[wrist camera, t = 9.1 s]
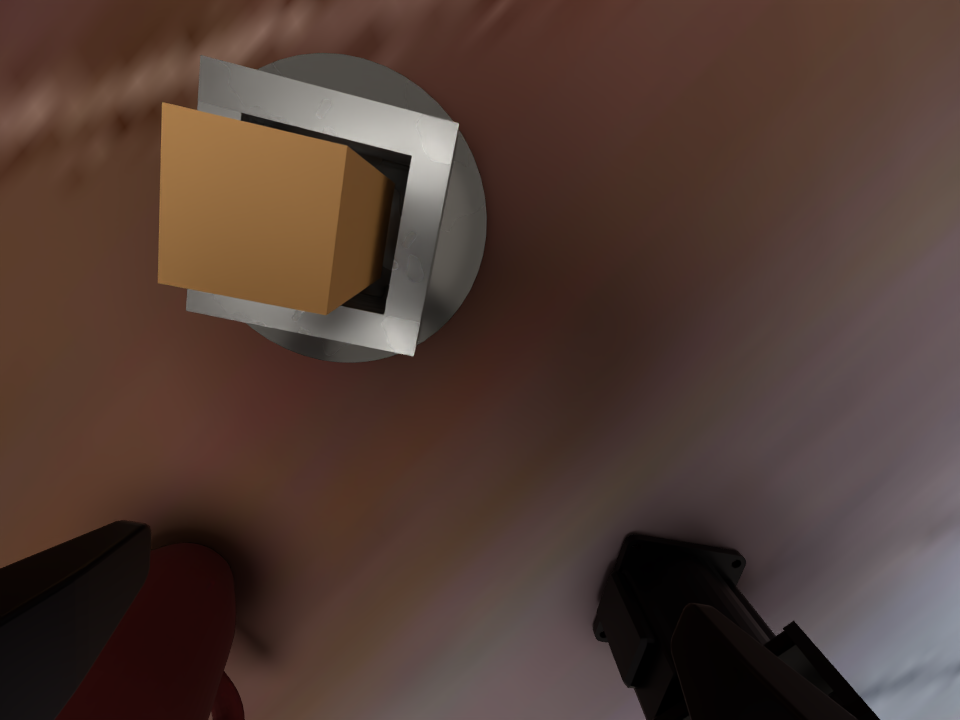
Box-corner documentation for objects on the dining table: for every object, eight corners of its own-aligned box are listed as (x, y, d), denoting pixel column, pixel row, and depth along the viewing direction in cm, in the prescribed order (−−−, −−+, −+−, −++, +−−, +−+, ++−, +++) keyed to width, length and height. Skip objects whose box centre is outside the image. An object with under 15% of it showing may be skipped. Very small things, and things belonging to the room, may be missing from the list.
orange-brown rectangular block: (395, 183, 17) (347, 145, 9) (380, 277, 18) (326, 315, 10) (298, 161, 16) (162, 102, 9) (288, 258, 17) (157, 283, 10)
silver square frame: (513, 109, 17) (531, 73, 13) (453, 376, 20) (453, 413, 16) (213, 27, 16) (134, -40, 12) (194, 325, 19) (125, 352, 15)
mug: (343, 616, 24) (269, 883, 14) (227, 692, 24) (83, 992, 15) (190, 473, 21) (-34, 683, 11) (66, 565, 22) (-238, 832, 12)
